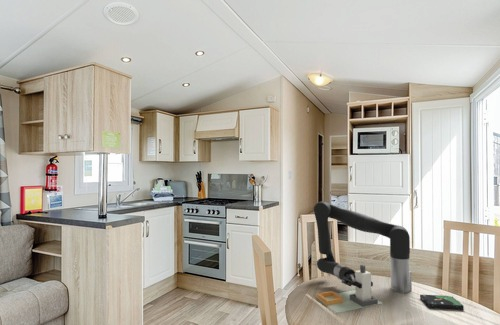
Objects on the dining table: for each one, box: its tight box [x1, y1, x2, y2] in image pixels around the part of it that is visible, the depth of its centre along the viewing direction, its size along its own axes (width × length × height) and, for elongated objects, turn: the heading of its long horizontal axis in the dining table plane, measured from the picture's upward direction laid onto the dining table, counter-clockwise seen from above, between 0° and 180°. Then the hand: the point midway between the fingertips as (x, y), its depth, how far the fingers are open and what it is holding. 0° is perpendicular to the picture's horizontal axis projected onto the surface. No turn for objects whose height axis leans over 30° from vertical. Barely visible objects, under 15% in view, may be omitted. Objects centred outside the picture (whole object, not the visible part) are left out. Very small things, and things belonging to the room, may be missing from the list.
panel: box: [315, 289, 383, 315], centre depth 144 cm, size 26×17×3 cm, turn 110°
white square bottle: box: [354, 264, 372, 301], centre depth 143 cm, size 5×5×17 cm
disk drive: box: [419, 294, 465, 311], centre depth 141 cm, size 10×3×15 cm
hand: (366, 285), depth 141 cm, fingers open, 6 cm apart
